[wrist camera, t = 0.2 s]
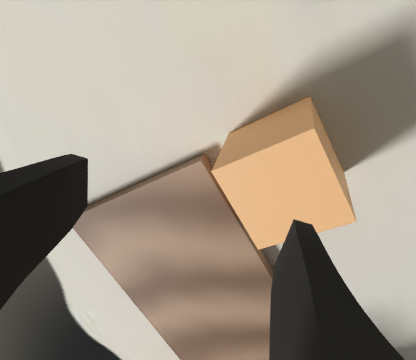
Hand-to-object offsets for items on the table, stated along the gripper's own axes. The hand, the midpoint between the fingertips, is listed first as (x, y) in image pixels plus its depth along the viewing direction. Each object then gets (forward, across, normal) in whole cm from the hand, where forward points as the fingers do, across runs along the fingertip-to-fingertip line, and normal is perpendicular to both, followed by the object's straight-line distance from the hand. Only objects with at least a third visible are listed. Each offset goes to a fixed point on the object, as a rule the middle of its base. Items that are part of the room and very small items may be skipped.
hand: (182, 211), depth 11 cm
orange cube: (+10, -4, +1) cm, 10 cm away
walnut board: (+10, 0, +13) cm, 16 cm away
